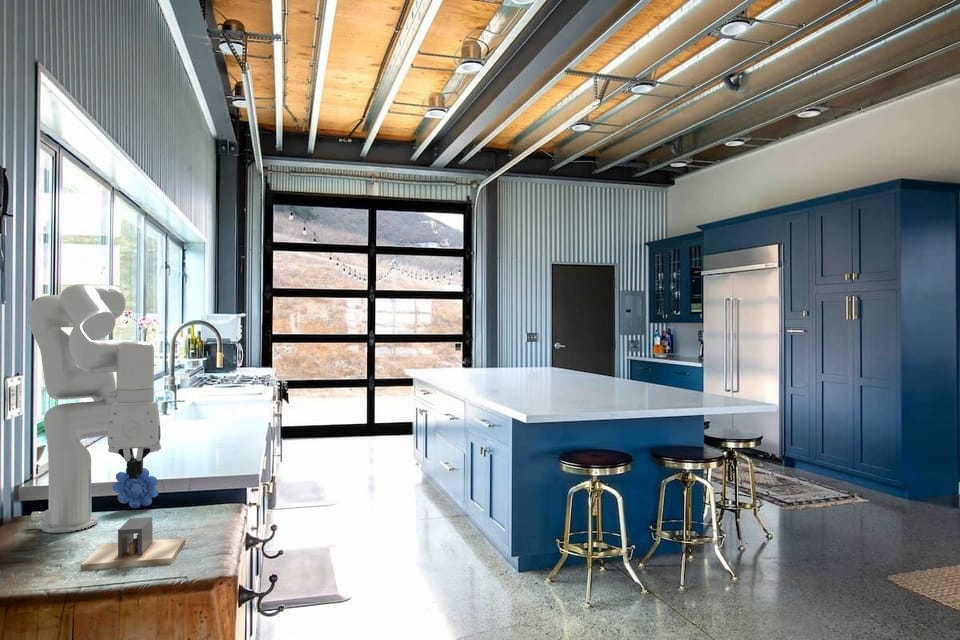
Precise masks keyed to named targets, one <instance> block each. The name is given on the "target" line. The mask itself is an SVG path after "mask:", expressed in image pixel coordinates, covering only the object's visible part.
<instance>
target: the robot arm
mask: <svg viewBox="0 0 960 640" xmlns="http://www.w3.org/2000/svg"><path fill="white" fill-rule="evenodd" d="M125 309H126V298H125V295H124V293H123V291H122V290H121V289H120V288H119V287H117V286H114V285H110V284H109V285H108V284H88V283H87V284H85V283H80V284H79V283H78V284H72V285H70V286H67V287H66V288H65V289H63V290H62V292H61V293H60V294H50V295H43V296H39V297H36V298H35V299H33V300H32V301H31V303H30V305H29V307H28V323H29V327H30V331H31V333H32V335H33V337H34V339H35V342H36V343H37V346H38V348H39V352H40V356H41V364H42V366H41V367H42V373H43V379H44V385H45V389H46V393H47V395H48V396H49V397H50V398H51V399H54V400H76V399H87V398H91V399H92V400H93V401H81V402H78V401H77V402H69V403H68V402H67V403H61V404H57V405H54V406H52V407H50V408H49V409H48V410H47V411H46V412H45V414H44V416H43V427H44V433H45V438H46V439H45V440H46V443H47V458H48V459H47V460H48V461H47V466H48V467H47V468H48V469H47V470H48V509H45V510H44V511H32V512H31V514H30V520H32V522H39V521H42V522H43V523H42V524H41V525H40V526H41V531H42V532H44V533H48V534H49V533H50V534H57V533H59V534H60V533H62V534H63V533H70V532H71V531H72V532H76V530H78V531H81V529H82V530H85V529H84V528H86V529H88V528H87V527H89V528H91V527H90V526H92V525H94V524H96V523H97V522H98V523H99V517H98V516H96V515H92V455H91V452H90V451H89V450H88V448H87V447H85V445H83V443H82V442H81V440H86V439H91V438H92V439H93V438H100V437H106V436H107V446H108V450H107V451H108V453H113V454H118V455H120V456H121V458H123V459H124V461H125V462H126V468H127V475H129V479H133V478H134V479H138V478H139V477H140V475H141V474H142V473H143V468H144V459H145V458H146V457H147V456H148V455H149V454H151V453H155V452H158V451H160V450H162V445H161V442H160V441H161V434H162V433H161V422H160V420H161V419H160V412H159V406H158V403H157V401H154V400H155V398H154V397H155V396H154V394H155V391H154V390H155V385H154V384H155V348H154V345H153V344H152V343H151V342H148V341H140V340H138V339H127V338H126V339H118V338H117V339H104V338H105V337H107V336H108V335H110V334H111V333H112V331H114V329H115V327H116V320H117V319H118V318H119V317H121V316H122V314H123V313H124V311H125ZM62 328H72V329H71V332H70V334H68V333H67V332H65V331H64V330H62ZM114 373H116V379H115V374H114ZM133 449H137V450H136V457H135V455H134V450H133ZM98 523H97V524H98ZM97 524H96V525H97ZM94 526H95V525H94ZM92 527H93V526H92ZM72 532H71V533H72Z"/></svg>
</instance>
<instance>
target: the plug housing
mask: <svg viewBox="0 0 960 640" xmlns="http://www.w3.org/2000/svg"><path fill="white" fill-rule="evenodd" d="M135 535H138V556H142V555H143V554H144V553H145V552H146V550H147V549H148V548H149V547H150V545H151V544H152V540H153V516H151V517H149V516H147V517H133V518H132V517H131V518H129V519H128V520H127V521H125V523H124V524H123V525H121V527H119V529H118V530H117V543H118V558H120V557H123V556H124V555H125V554H126V552H127V551H128V550H129V543H132V542H133V539H135V537H134V536H135Z"/></svg>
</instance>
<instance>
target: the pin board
mask: <svg viewBox="0 0 960 640" xmlns="http://www.w3.org/2000/svg"><path fill="white" fill-rule="evenodd" d="M185 544H186V537H184V538H181V537H180V538H167V539H152V544H151V545H150V547H149V548H148V549H147V550H146V552H145V553H144V554H143V555H142V556H138V534H136V538H135V537H134V539H133V542H132V543H129V550H128V551H127V552H126V554H125V555H124V556H123V557H120V558H118V542H108V543H107V542H106V543H101V544H100V545H99V546H98V547H97V548H96V549H95V550H94V551H93V552H92V553H90V555H88V556H87V558H86V559H85V560H84V561H83V562H82V563H80V571H84V570H85V571H87V570H102V569H113V568H114V569H116V568H127V567H128V568H129V567H130V568H131V567H142V566H143V565H145V566H156V565H155V564H159V565H171V564H173V562H174V561H173V560H176V558H177V556H178V555H179V553H180V552H181V550H182V549H181V548H183V547H184V546H185ZM183 545H184V546H183ZM179 551H180V552H179ZM177 554H178V555H177ZM175 557H176V558H175Z"/></svg>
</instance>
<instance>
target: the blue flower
mask: <svg viewBox="0 0 960 640" xmlns="http://www.w3.org/2000/svg"><path fill="white" fill-rule="evenodd" d="M115 479H116V481H117V482H115V483H113V485H112V490H113V491H114V492H115V493H116V494H118V495H117V500H118V501H119V503H121V504H126V503H128V505H129V506H130V507H131V508H132V509H137V508H139V507H141V505H142V506H146V507H148V506H150V505H151V504H152V502H153V499H152V498H156V497H157V496H158V495H159V493H160V491H159V489H158V488H157V487H156V485H158V482H159V481H158V479H157V477H156V476H154V475H150V471H149V470H148V468H145V467H143V473H142V474H141V475H140V477H139V478H138V479H134V478H133V479H129V475H127V467H126V468H125V472H124V471H119V472H117V473H116V474H115Z"/></svg>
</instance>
